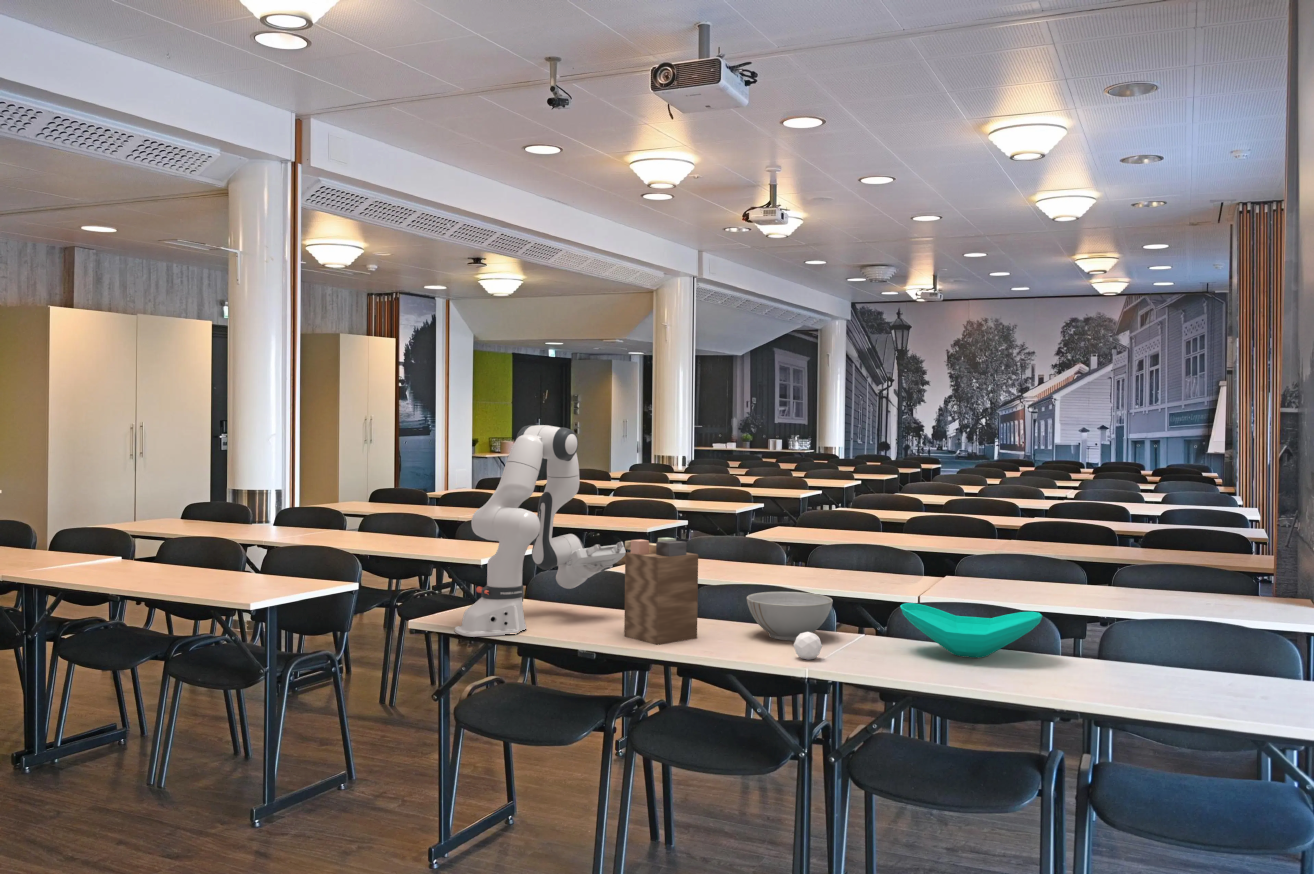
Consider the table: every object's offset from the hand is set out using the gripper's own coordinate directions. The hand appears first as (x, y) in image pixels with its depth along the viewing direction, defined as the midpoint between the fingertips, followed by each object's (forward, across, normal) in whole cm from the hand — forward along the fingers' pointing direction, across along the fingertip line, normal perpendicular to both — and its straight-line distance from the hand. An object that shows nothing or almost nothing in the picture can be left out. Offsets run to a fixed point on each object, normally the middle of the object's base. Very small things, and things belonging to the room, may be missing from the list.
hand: (610, 545), depth 345 cm
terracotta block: (+19, -6, +11) cm, 23 cm away
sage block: (+19, +5, +11) cm, 23 cm away
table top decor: (+73, +53, +74) cm, 117 cm away
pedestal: (+10, -1, +36) cm, 37 cm away
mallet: (+19, 0, +11) cm, 22 cm away
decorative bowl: (+30, +32, +48) cm, 65 cm away
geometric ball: (+52, +12, +60) cm, 80 cm away
